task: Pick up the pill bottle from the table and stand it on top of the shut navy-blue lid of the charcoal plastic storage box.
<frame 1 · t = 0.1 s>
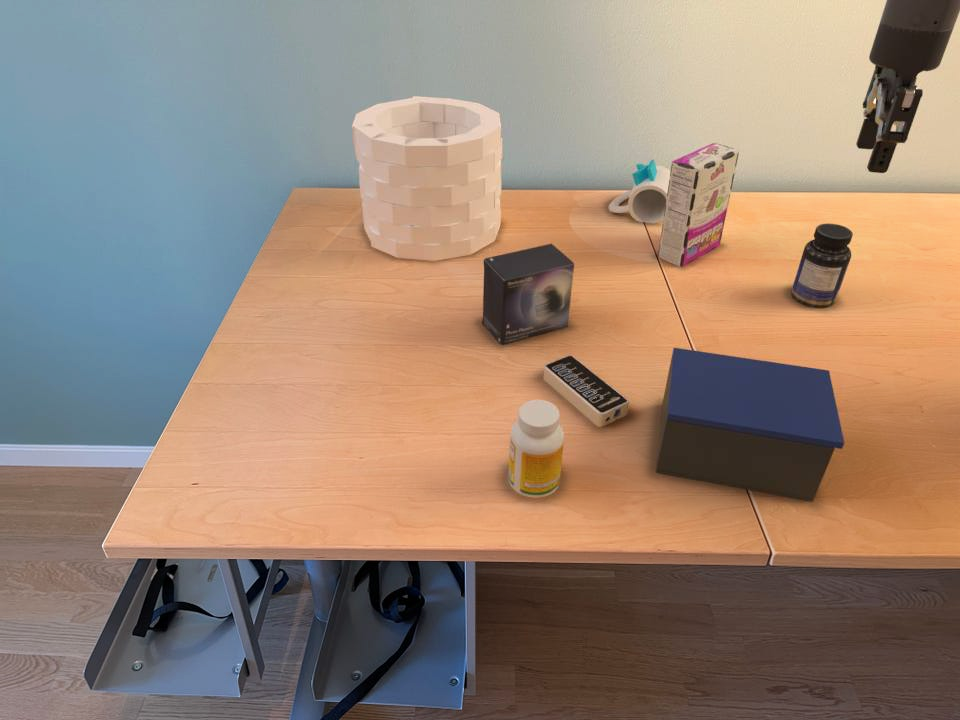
hand: (870, 159, 89), 21 cm above the table, tool pointing down, fingers open, 8 cm apart
storage lid: (750, 394, 72), point 8 cm above the table, hinge at 0.0°
candy bar box: (687, 254, 114), on the table
mug: (639, 210, 127), on the table
multiport hub: (583, 398, 84), on the table
basket: (433, 228, 121), on the table
small box: (525, 328, 96), on the table
pill bottle: (811, 300, 102), on the table
storage box: (730, 451, 77), on the table
supplement bottle: (534, 482, 73), on the table
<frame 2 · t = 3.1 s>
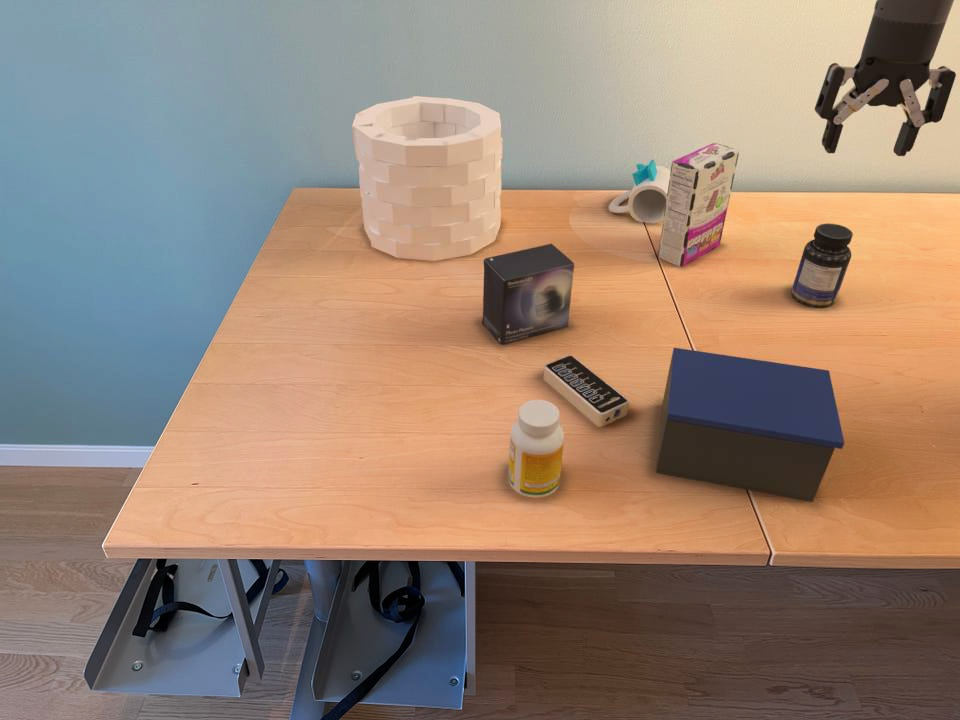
hand: (863, 152, 89), 22 cm above the table, tool pointing down, fingers open, 8 cm apart
nothing on the table moved.
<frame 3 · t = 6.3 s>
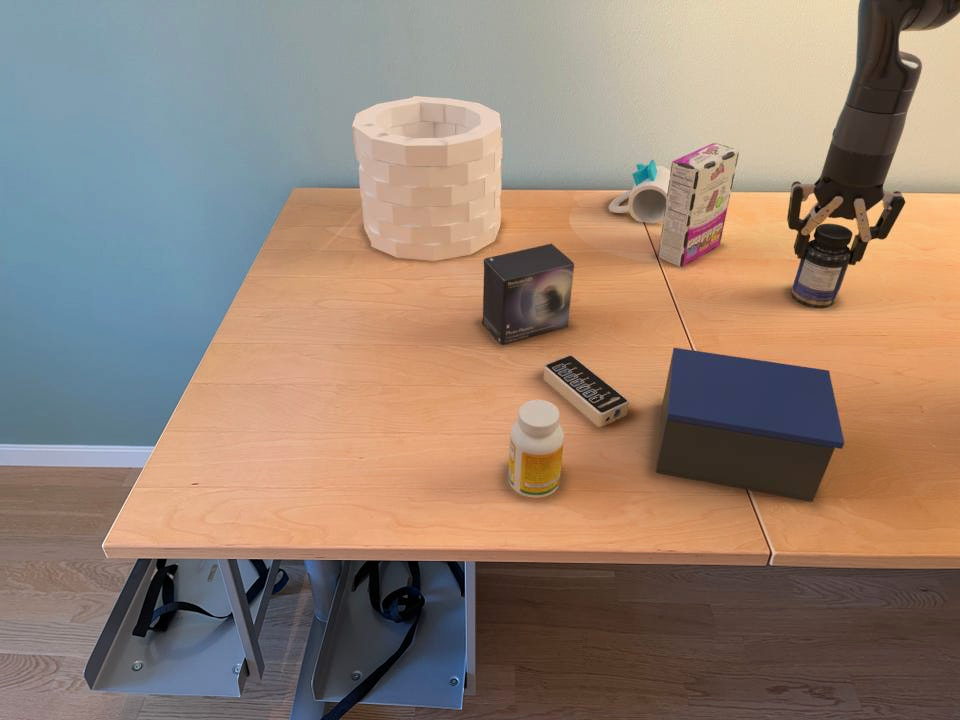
hand: (825, 259, 98), 7 cm above the table, tool pointing down, fingers closed on pill bottle, 6 cm apart
pill bottle: (811, 300, 102), on the table, touching gripper
everything else where it was.
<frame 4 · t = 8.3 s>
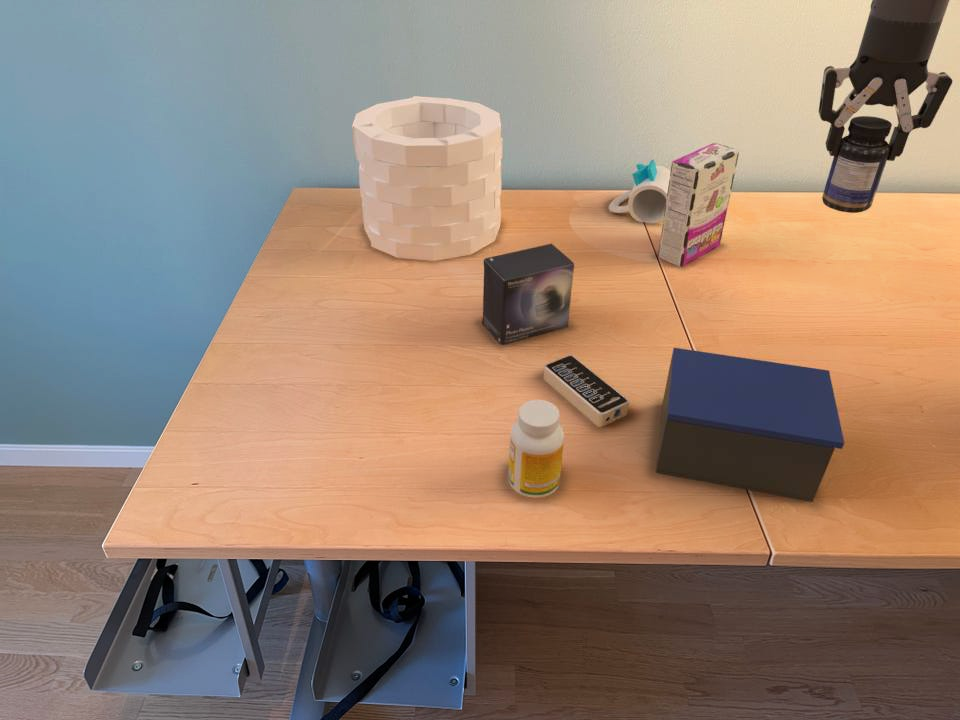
hand: (860, 156, 89), 21 cm above the table, tool pointing down, fingers closed on pill bottle, 6 cm apart
pill bottle: (845, 206, 93), point 15 cm above the table, touching gripper
everything else where it was.
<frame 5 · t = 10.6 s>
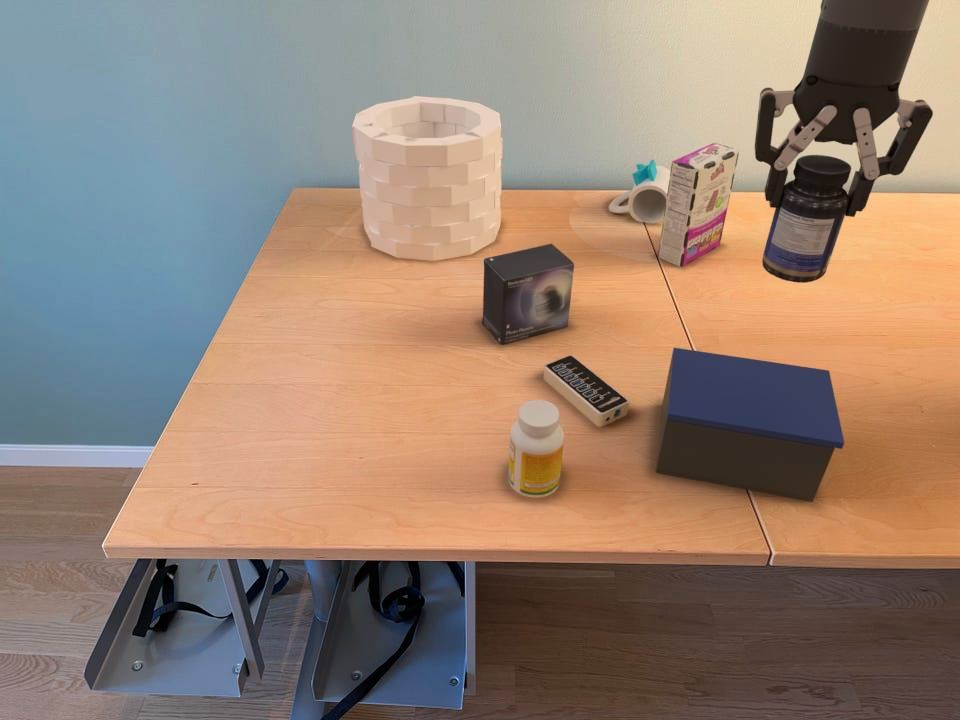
hand: (810, 208, 66), 26 cm above the table, tool pointing down, fingers closed on pill bottle, 6 cm apart
pill bottle: (791, 271, 70), point 19 cm above the table, touching gripper
everything else where it was.
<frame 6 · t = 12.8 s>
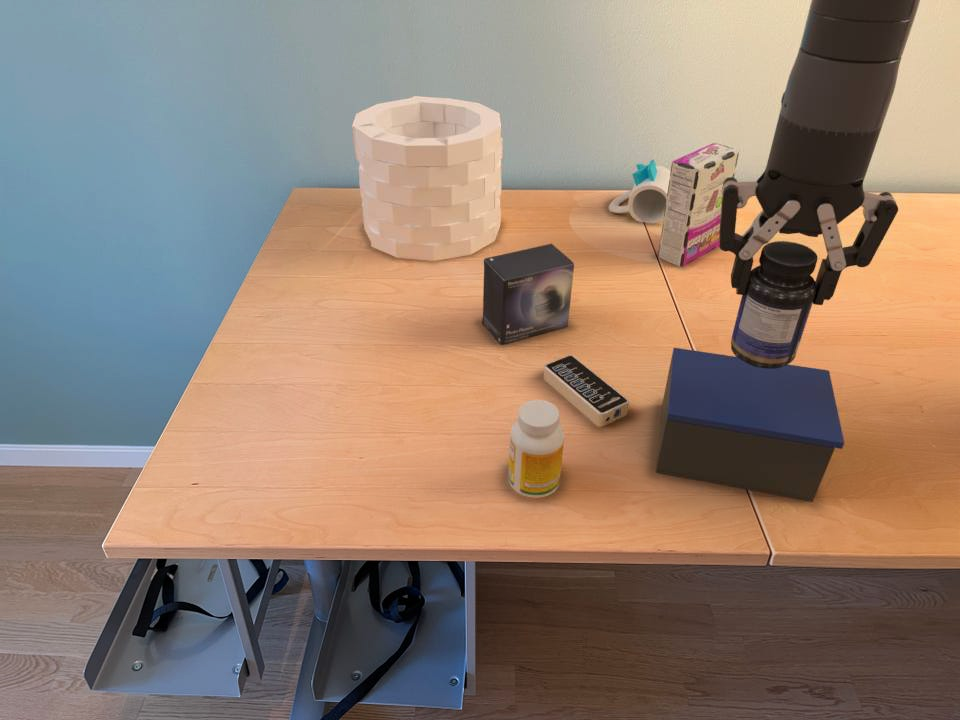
hand: (778, 295, 65), 20 cm above the table, tool pointing down, fingers closed on pill bottle, 6 cm apart
pill bottle: (760, 354, 69), point 13 cm above the table, touching gripper
everything else where it was.
when the fingers open (15 cm above the table, at t = 14.8 s): pill bottle stays where it is, resting on storage lid.
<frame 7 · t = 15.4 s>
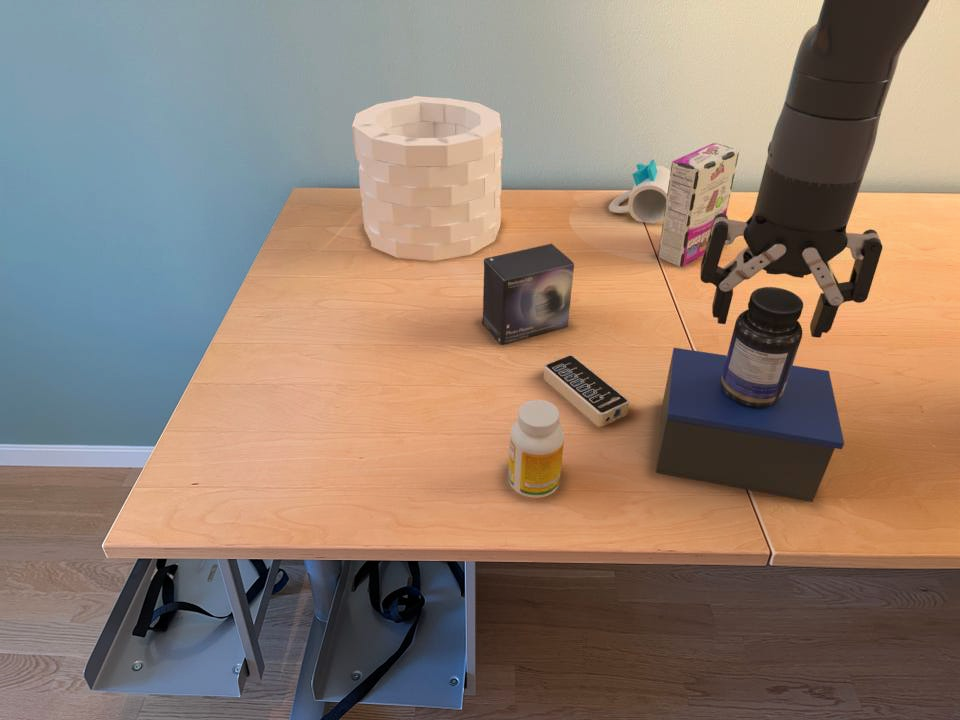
hand: (767, 326, 67), 17 cm above the table, tool pointing down, fingers open, 8 cm apart
storage lid: (750, 394, 72), point 8 cm above the table, hinge at -0.2°, touching pill bottle, storage box
pill bottle: (749, 392, 72), point 8 cm above the table, touching storage lid
everything else where it was.
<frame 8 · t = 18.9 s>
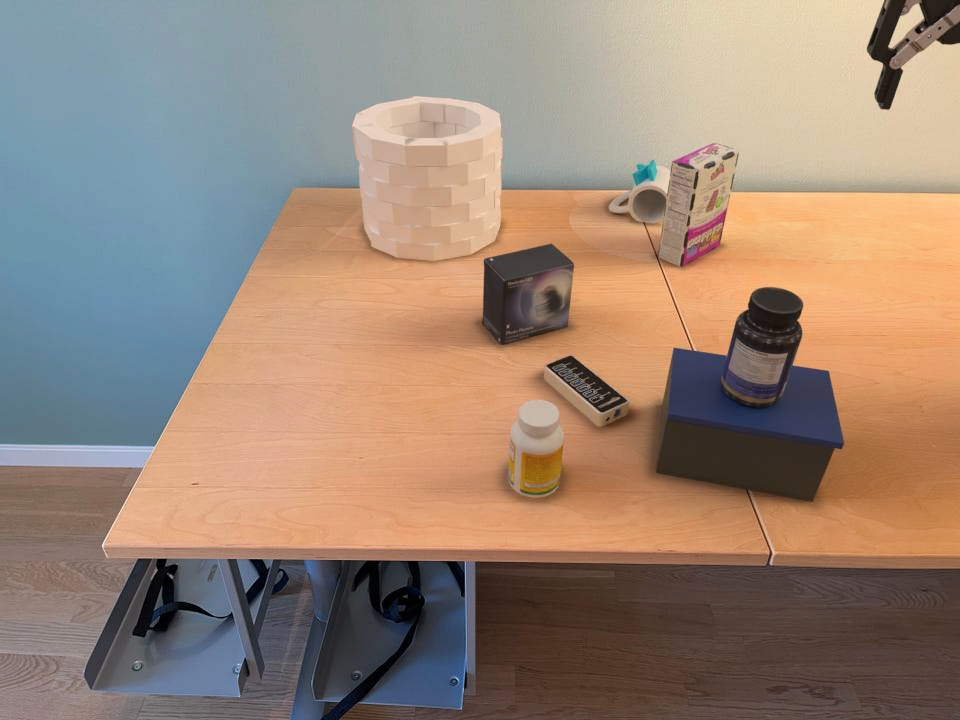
hand: (931, 111, 67), 33 cm above the table, tool pointing down, fingers open, 8 cm apart
nothing on the table moved.
at the end: pill bottle inside the target area on the storage box (0.1 cm from its centre), point 8.4 cm above the storage box's base; pill bottle tilted 0°; storage lid at +0° (first picture: +0°) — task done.
